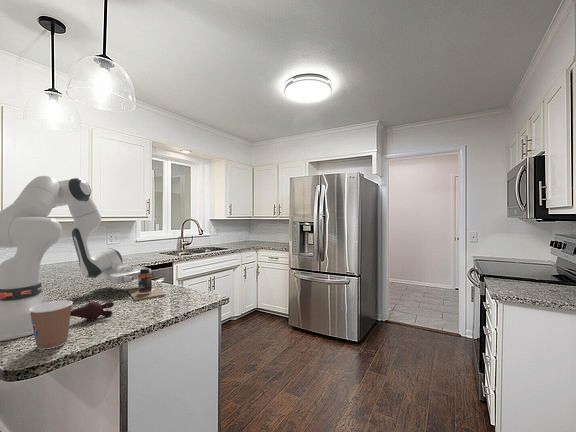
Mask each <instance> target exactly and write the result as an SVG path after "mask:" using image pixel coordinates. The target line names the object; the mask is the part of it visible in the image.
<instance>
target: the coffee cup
mask: <svg viewBox="0 0 576 432" xmlns="http://www.w3.org/2000/svg"><path fill="white" fill-rule="evenodd" d="M73 303H74V301H72V300H66V299H65V300H64V299H63V300H53V301H47V303H43V304H39V305H36V306H33V307H31V308H30V309H29V312H31V313H30V314H31V320H32V325H33V331H34V334H33V335H34V336H33V337H34V341H35V345H36V348H37V349H38V350H40V351H43V350H45V349H47V350H52V349H56V348H58V346H59V347H61V346H64V345H65V344H66V343H67V340H68V337H69V330H70V323H71V322H70V321H71V316H70V314H71V311H72V305H73ZM64 343H65V344H64ZM55 347H56V348H55ZM51 348H52V349H51ZM45 351H46V350H45Z"/></svg>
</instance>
